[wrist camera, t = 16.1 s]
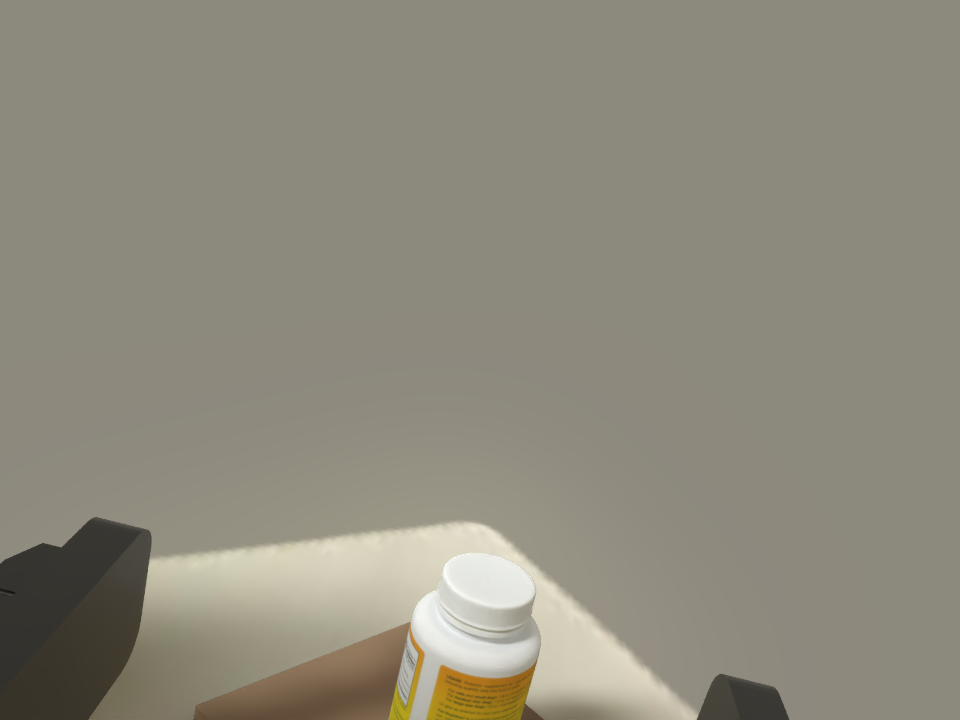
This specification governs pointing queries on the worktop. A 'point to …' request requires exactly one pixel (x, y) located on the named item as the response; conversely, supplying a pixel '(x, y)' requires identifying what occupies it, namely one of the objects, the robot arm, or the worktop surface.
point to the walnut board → (326, 687)
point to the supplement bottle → (470, 644)
